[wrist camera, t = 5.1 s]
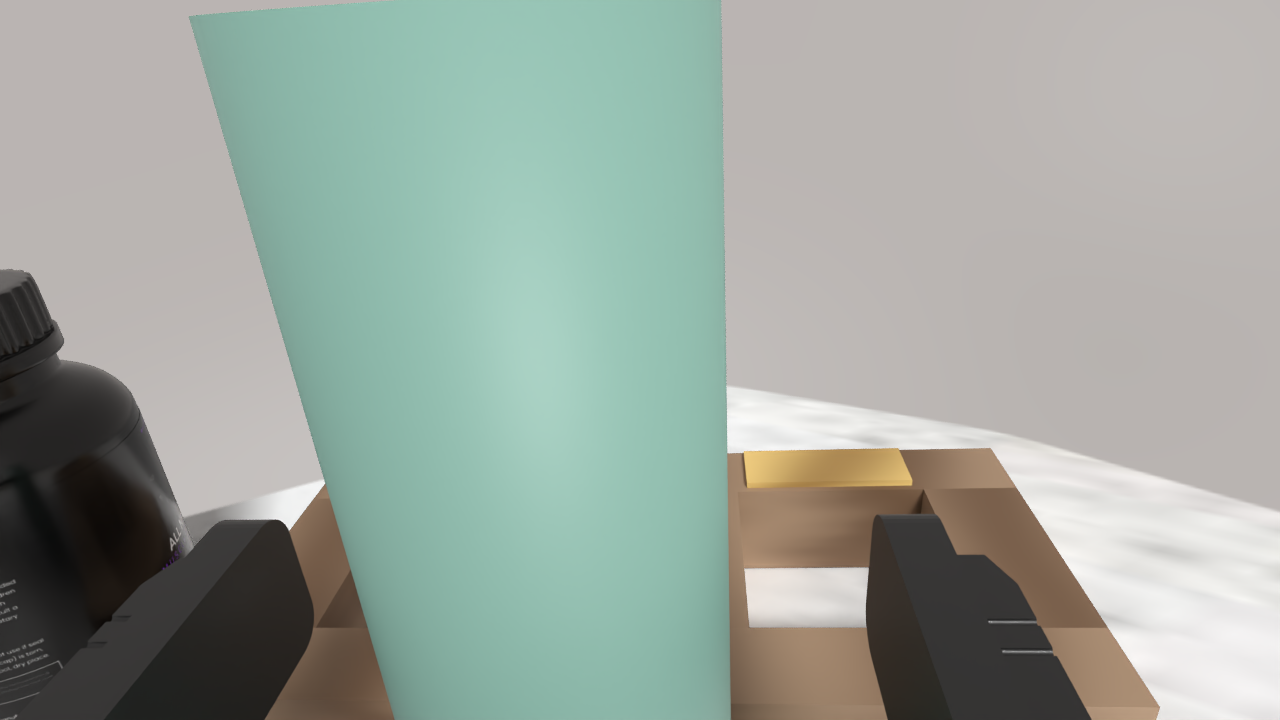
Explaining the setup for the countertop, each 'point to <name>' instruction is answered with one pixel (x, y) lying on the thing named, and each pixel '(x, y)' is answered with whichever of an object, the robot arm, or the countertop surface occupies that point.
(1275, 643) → the countertop surface
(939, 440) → the countertop surface
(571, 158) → the peg
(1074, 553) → the countertop surface
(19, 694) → the supplement bottle
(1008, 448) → the countertop surface
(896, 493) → the hole board
